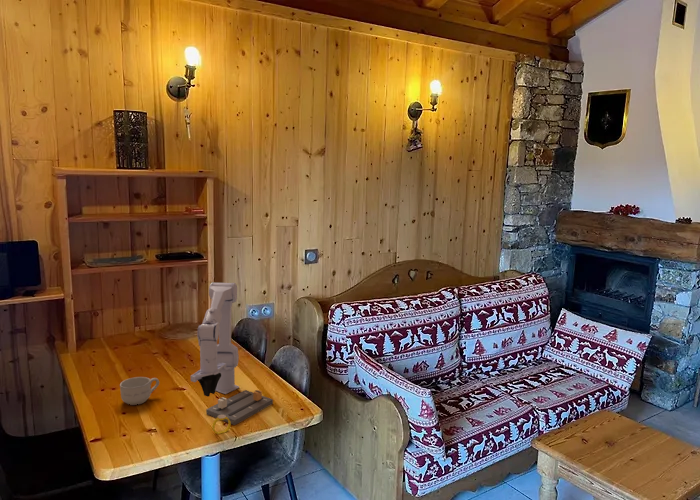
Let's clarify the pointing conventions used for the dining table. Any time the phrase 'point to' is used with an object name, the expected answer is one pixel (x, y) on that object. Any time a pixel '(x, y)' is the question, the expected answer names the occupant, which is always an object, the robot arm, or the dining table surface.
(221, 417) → the watch
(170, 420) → the dining table surface
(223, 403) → the fader ivory
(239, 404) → the fader panel
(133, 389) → the teacup
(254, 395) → the fader orange
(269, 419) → the dining table surface
